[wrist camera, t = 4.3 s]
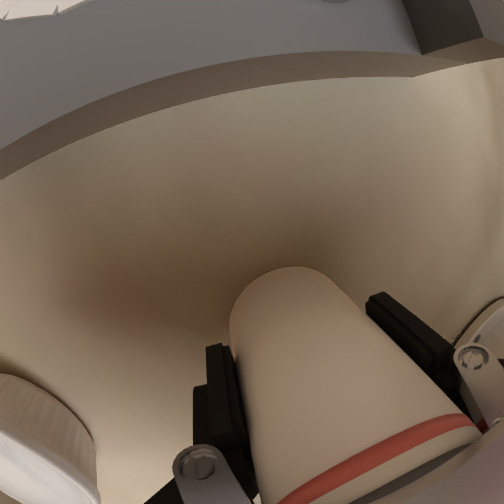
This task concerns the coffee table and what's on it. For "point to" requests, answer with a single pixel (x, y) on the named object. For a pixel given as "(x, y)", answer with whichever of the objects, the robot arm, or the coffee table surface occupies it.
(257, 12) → the camera body
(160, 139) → the coffee table surface
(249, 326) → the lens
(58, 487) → the ramekin
